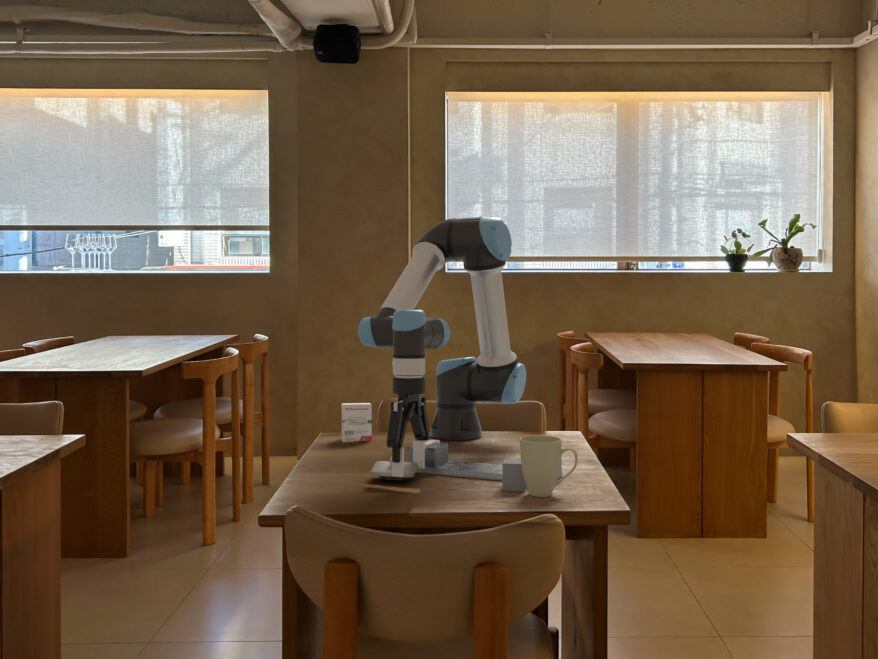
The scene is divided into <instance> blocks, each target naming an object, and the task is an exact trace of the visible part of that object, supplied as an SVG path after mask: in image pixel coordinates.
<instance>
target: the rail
mask: <svg viewBox="0 0 878 659" xmlns="http://www.w3.org/2000/svg"><path fill="white" fill-rule="evenodd" d="M562 455H563V454H562ZM562 455H561V459H560V467H559V472H558V476H557V480H560V479H561V478H563V477H564V470H563V469H562V462H563V461H562V460H563V458H562ZM408 462H413V444H411V445H409V446H408ZM416 473H417V474H429V475H438V476H450V477H460V478H470V479H471V478H472V479H483V480H493V481H502V464H494V463H483V462H470V461H460V460H450V459H449V443H448V442H441V439H429V440H425V468H424V469H422V468H416V471H415V474H416Z"/></svg>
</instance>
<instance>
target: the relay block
mask: <svg viewBox="0 0 878 659" xmlns="http://www.w3.org/2000/svg"><path fill="white" fill-rule="evenodd" d="M501 465H502V484H501V485H502V487H501V489H502V491H509V492H510V491H511V492H515V491H516V492H526V490H527V486H526V482H525V479H524V476H523V472H522V467H521V459H515V458H514V459H512V458H509V459H508V458H504V459H503V460H502V463H501Z"/></svg>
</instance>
